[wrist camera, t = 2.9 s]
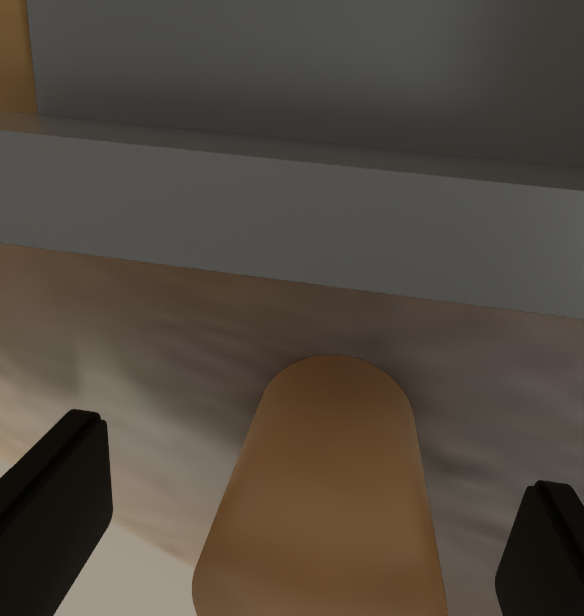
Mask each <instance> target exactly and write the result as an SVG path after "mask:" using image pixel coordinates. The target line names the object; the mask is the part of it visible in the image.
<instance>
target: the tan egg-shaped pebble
mask: <svg viewBox="0 0 584 616" xmlns="http://www.w3.org/2000/svg"><path fill="white" fill-rule="evenodd" d="M192 597H193V603H194V607H195V610H196V613H197V616H448V608H447V602H446V597H445V591H444V585H443V579H442V574H441V568H440V562H439V557H438V551H437V545H436V540H435V534H434V528H433V523H432V517H431V511H430V505H429V500H428V494H427V488H426V483H425V477H424V471H423V466H422V460H421V454H420V448H419V443H418V437H417V431H416V426H415V420H414V415H413V411H412V407H411V405H410V402H409V400H408V398H407V396H406V395H405V393H404V391H403V390H402V388H401V387H400V386H399V385H398V384H397V382H396V381H395V380H394V379H392V378H391V377H390V376H389V375H388V374H387V373H385V372H384V371H382V370H381V369H380V368H378V367H376V366H374V365H372V364H370V363H368V362H365V361H363V360H360V359H356V358H352V357H348V356H341V355H322V356H314V357H310V358H306V359H303V360H300V361H297V362H295V363H293V364H291V365H289V366H288V367H286V368H285V369H283V370H282V371H280V372H279V373H278V374H277V375H276V376H275V377H274V378H273V379H272V380H271V382H270V383H269V384H268V385H267V387H266V389H265V391H264V392H263V395H262V397H261V400H260V402H259V405H258V407H257V410H256V413H255V415H254V418H253V420H252V423H251V426H250V428H249V431H248V433H247V436H246V439H245V441H244V444H243V446H242V449H241V452H240V454H239V457H238V459H237V462H236V464H235V467H234V470H233V472H232V475H231V477H230V480H229V483H228V485H227V488H226V490H225V493H224V496H223V498H222V501H221V503H220V506H219V508H218V511H217V514H216V516H215V519H214V521H213V524H212V527H211V529H210V532H209V534H208V537H207V540H206V542H205V545H204V547H203V550H202V553H201V555H200V558H199V560H198V563H197V565H196V568H195V571H194V576H193V581H192Z"/></svg>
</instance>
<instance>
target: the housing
mask: <svg viewBox="0 0 584 616" xmlns="http://www.w3.org/2000/svg"><path fill="white" fill-rule="evenodd" d="M26 3H27V13H28V23H29V32H30V42H31V52H32V62H33V71H34V81H35V91H36V100H37V110H38V114H36V113H19V112H1V111H0V243H3V244H10V245H18V246H26V247H33V248H41V249H49V250H56V251H64V252H71V253H79V254H87V255H94V256H102V257H110V258H117V259H125V260H133V261H140V262H148V263H156V264H163V265H171V266H179V267H186V268H194V269H202V270H209V271H217V272H225V273H232V274H240V275H247V276H255V277H263V278H270V279H278V280H286V281H293V282H301V283H309V284H316V285H324V286H332V287H339V288H347V289H355V290H362V291H370V292H378V293H385V294H393V295H400V296H408V297H416V298H423V299H431V300H439V301H446V302H454V303H462V304H469V305H477V306H485V307H492V308H500V309H508V310H515V311H523V312H531V313H538V314H546V315H553V316H561V317H569V318H576V319H584V0H26Z"/></svg>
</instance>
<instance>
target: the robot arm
mask: <svg viewBox="0 0 584 616" xmlns="http://www.w3.org/2000/svg"><path fill="white" fill-rule="evenodd" d="M112 514H113V503H112V489H111V474H110V460H109V446H108V432H107V423H106V421H105V420H101V417H100V415H99V413H97V412H91V411H84V410H78V409H72V410H70V411H69V412H67V413H66V414H65V415H64V416H63V417H62V418H61V419H60V420H59V421H58V422H57V423H56V424H55V425H54V426H53V427H52V428H51V429H50V430H49V431H48V432H47V433H46V434H45V435H44V436H43V437H42V438H41V439H40V440H39V441H38V442H37V443H36V444H35V445H34V446H33V447H32V448H31V449H30V450H29V451H28V452H27V453H26V454H25V455H24V456H23V457H22V458H21V459H20V460H19V461H18V462H17V463H16V464H15V465H14V466H13V467H12V468H11V469H9V470H8V471H7V472H6V473H5V474H4V475H3V476H2V477H1V478H0V616H53V615H54V614H55V612H56V610H57V609H58V607H59V605H60V604H61V602H62V600H63V599H64V597H65V595H66V594H67V592H68V591H69V589H70V588H71V586H72V584H73V583H74V581H75V579H76V578H77V576H78V575H79V573H80V571H81V570H82V568H83V567H84V565H85V563H86V562H87V560H88V558H89V557H90V555H91V554H92V552H93V550H94V549H95V547H96V545H97V544H98V542H99V541H100V539H101V537H102V536H103V534H104V532H105V531H106V529H107V528H108V526H109V524H110V521H111V518H112ZM495 589H496V594H497V598H498V601H499V604H500V608H501V611H502V614H503V616H584V506H583V504H582V503H581V501H580V499H579V498H578V496H577V494H576V493H575V491H574V490H573V488H572V487H571V486H570V485H568V484H563V483H556V482H550V481H543V480H539V481H537V482H536V483H535V485H534V486H528V487H527V489H526V491H525V493H524V496H523V499H522V502H521V505H520V507H519V510H518V513H517V516H516V519H515V522H514V524H513V527H512V530H511V533H510V536H509V539H508V541H507V544H506V547H505V550H504V553H503V556H502V559H501V561H500V564H499V567H498V570H497V573H496V577H495Z"/></svg>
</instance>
